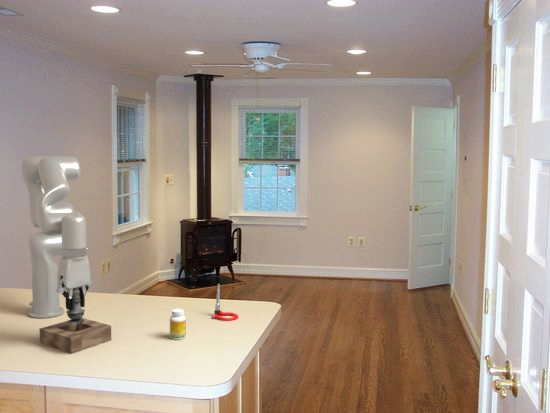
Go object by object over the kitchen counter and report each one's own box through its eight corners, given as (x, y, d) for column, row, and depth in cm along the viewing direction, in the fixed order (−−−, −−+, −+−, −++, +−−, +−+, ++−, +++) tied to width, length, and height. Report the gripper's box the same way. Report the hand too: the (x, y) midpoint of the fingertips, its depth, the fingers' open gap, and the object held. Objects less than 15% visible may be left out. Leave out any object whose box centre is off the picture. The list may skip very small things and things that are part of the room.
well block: (39, 343, 196) (39, 328, 195) (79, 331, 209) (79, 317, 209) (71, 353, 187) (71, 338, 187) (111, 340, 200) (111, 325, 200)
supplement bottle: (167, 336, 205) (167, 309, 204) (183, 334, 208) (183, 307, 207) (172, 341, 201) (172, 313, 200) (187, 339, 203) (187, 311, 202)
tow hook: (241, 317, 230) (219, 313, 233) (243, 284, 229) (221, 281, 232) (233, 323, 223) (210, 319, 226) (234, 289, 221) (212, 286, 224)
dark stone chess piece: (79, 324, 194) (78, 288, 193) (62, 323, 195) (61, 287, 194) (88, 319, 200) (87, 284, 198) (72, 318, 201) (71, 283, 199)
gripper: (87, 248, 204) (88, 301, 206) (44, 255, 190) (46, 311, 192) (102, 250, 200) (103, 304, 202) (59, 258, 186) (61, 315, 188)
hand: (75, 307), depth 197 cm, fingers closed on dark stone chess piece, 3 cm apart
